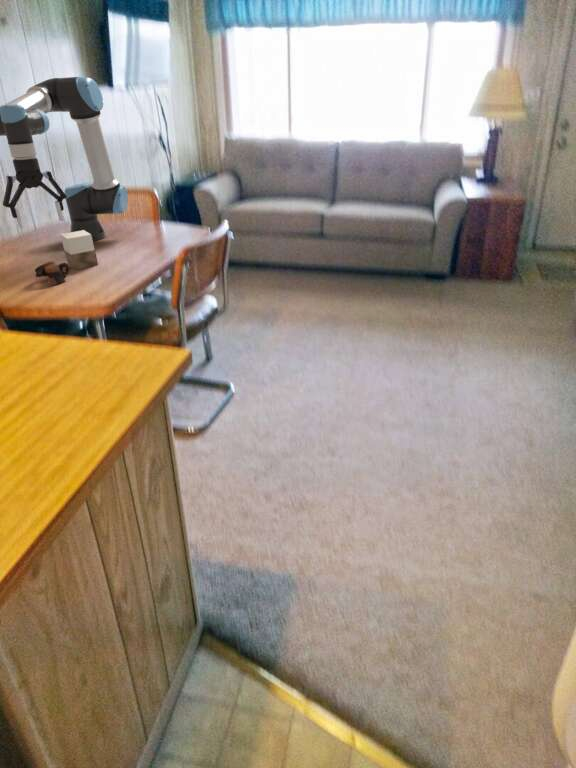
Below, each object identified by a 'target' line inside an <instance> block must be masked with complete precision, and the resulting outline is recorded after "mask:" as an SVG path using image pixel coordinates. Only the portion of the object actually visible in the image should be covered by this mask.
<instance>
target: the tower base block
mask: <svg viewBox="0 0 576 768" xmlns="http://www.w3.org/2000/svg"><path fill="white" fill-rule="evenodd" d="M64 255H65V258H66V263H67V264H68V265H69V266H70V268H72V269H73V270H74V271H75V270H81V268H82V269H86V268H89V267H90V266H91V267H95V266H98V265H99V262H98V256H97V252H96V249H94V250H93V251H88V252H82V253H77V254H72V255H71V254H69V253H68V252H67V251H65V250H64ZM94 265H95V266H94ZM85 267H86V268H85Z"/></svg>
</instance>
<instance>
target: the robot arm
mask: <svg viewBox="0 0 576 768" xmlns="http://www.w3.org/2000/svg"><path fill="white" fill-rule="evenodd" d="M103 101H104V99H103V93H102V92H101V89H100V87H99V85H98V84H97V82H96V81H95V80H94V79H93V78H91V77H87V76H69V77H53V78H50V79H45V80H42V81H40V82H39V83H36V84H34V85H32V86H30V87H29V88H28V89H27V91H26V93H25V94H22V95H20V96H19V97H16V98H15V99H13V100H11V101H8V102H7V103H5V104H3V105H0V137H4V136H6V140H7V143H8V148H9V152H10V156H11V158H12V163H13V167H14V171H15V175H6V186H5V191H4V196H3V200H2V206H4V208H9V209H10V212H11V213H10V214H11V216H12V218H14V219H16V222H17V227H18V228H20V229H23V228H24V226H23V223H22V219H21V216H20V215H21V214H20V212H19V208H18V207H17V205H18V204H17V203H18V202H19V200H20V198H21V196H22V194H23V192H24V191H25V189H28V190H29V189H32V188H34V189H35V188H39V187H40V188H42V189H43V190H44V191H45V192H47V193H48V194H49V195H51V196H52V197H53V198H54V199H55V200H54V204H55V209H56V212H57V216H58V220H59V221H60V222H64V216H63V213H62V211H64V209H65V208H64V204H63V201H64V200H65V202H66V206H67V209H68V214H69V218H70V231H69V233H70V232H76V231H81V230H84V231H86V232H88V233H90V234H91V236H92V240H93V242H94V241H98V240H101V239H104V238H106V231H105V230H104V228H103V226H102V224H101V222H100V220H99V218H98V217H99V216H98V215H122V214H125V212H126V211H127V208H128V203H129V202H128V201H129V194H128V190H127V188H126V187H125V186H123V185H121V183H120V180H119V179H118V178H117V177H115V176H114V171H113V168H112V165H111V162H110V157H109V154H108V150H107V146H106V142H105V139H104V135H103V132H102V128H101V125H100V120H99V118H100V117H101V114H102V113H101V111H102V109H103V107H104V102H103ZM56 112H58V113H60V112H61V113H64V112H65V113H66V112H67V113H69V117H70V119H71V120H73V121H74V122H75V123H76V126H77V130H78V132H79V135H80V139H81V142H82V145H83V148H84V149H83V150H84V151H85V155H86V158H87V162H88V165H89V170H90V173H91V175H92V179H93V182H92V184H91V182H84V183H78V184H73V185H71V186H70V185H69V186H67V187H65V188H64V191H63V189H62V188H61V187H60V185H59V184H58V183H57V182H56V180H55V179H54V177H53V175H52V172H51V171H48V170H46V171H43V172H42V171H41V168H40V163H39V159H38V158H37V152H36V148H35V143H34V140H33V136H36V135H42V134H44V133H46V132H47V131H48V130H49V128H50V119H49V117H48V115H47V114H48V113H56ZM43 178H45V179H47V180H48V182H49V183H50V184H51V186H52V187H53V188H54V189H55V190H56V192H57V193H58V194H59V195H58V194H57V193H56V192H55V191H54V190H52V189H51V188H50V187H49V186H48V185H46V184H45V183H44V182H43V181H42V180H43ZM16 181H17V182H18V183H19V184H18V186H17V189H16V191H15V192H14V194H13V196H12V199H11V195H12V191H13V187H14V183H15V182H16Z"/></svg>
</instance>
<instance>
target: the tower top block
mask: <svg viewBox="0 0 576 768" xmlns="http://www.w3.org/2000/svg"><path fill="white" fill-rule="evenodd" d="M60 239H61V242H62V246H63V250H64V252H65V251H67V252H68V253H69V254H71V255H72V254H77V253H82V252H88V251H93V250H95V247H94V241H93V240H92V236H91V234H90V233H88V232H86V231H84V230H81V231H76V232H70V231H69V232H66V233H61V234H60Z"/></svg>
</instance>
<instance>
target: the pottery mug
mask: <svg viewBox="0 0 576 768" xmlns="http://www.w3.org/2000/svg"><path fill="white" fill-rule="evenodd" d="M64 268H66V270H65V271H64ZM70 271H71V266H69V265H68V263H67V262H61V263H59V264H57V263H55V262H54V261H52V260H51V261H48V262H45V263H42V264H41V265H39V266H37V267H36V268H35V269H34V272H35V278H36V279H38V278H41V277H48V278H50V279H48V283H49V284H50V286H51V287H53V286H55V285H58V284H61V283H65V282H66V280H65V279H66V278H67V276H68V275H69V274H70Z"/></svg>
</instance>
